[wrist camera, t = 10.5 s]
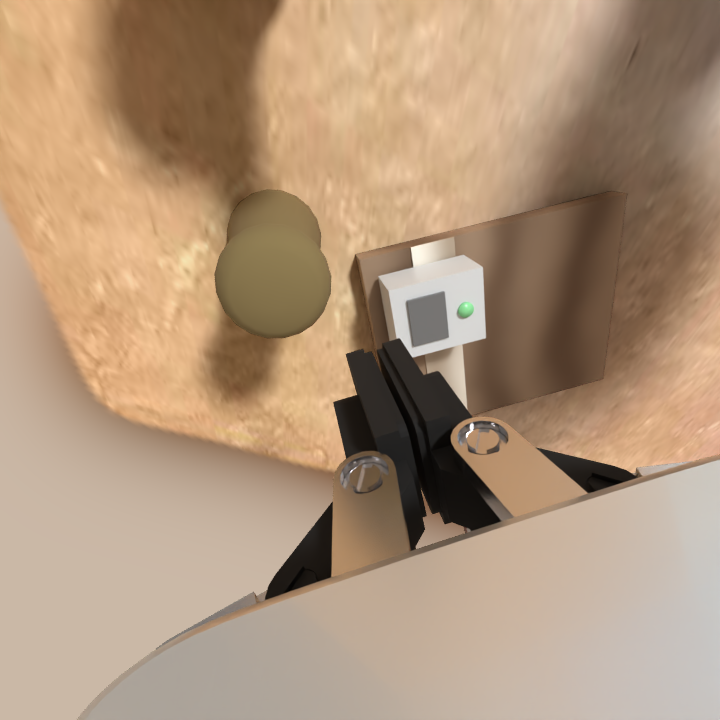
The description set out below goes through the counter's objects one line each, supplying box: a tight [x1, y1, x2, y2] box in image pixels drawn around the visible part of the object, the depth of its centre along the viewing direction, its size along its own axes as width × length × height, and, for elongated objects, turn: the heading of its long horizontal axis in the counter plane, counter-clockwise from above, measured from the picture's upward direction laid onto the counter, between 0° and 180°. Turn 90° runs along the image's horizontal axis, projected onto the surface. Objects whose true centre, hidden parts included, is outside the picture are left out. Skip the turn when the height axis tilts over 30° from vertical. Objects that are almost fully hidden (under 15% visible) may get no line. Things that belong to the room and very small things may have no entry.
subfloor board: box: [356, 191, 627, 415], centre depth 32 cm, size 19×16×2 cm
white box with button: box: [378, 255, 486, 358], centre depth 27 cm, size 6×5×3 cm
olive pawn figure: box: [215, 190, 331, 338], centre depth 22 cm, size 6×6×11 cm
